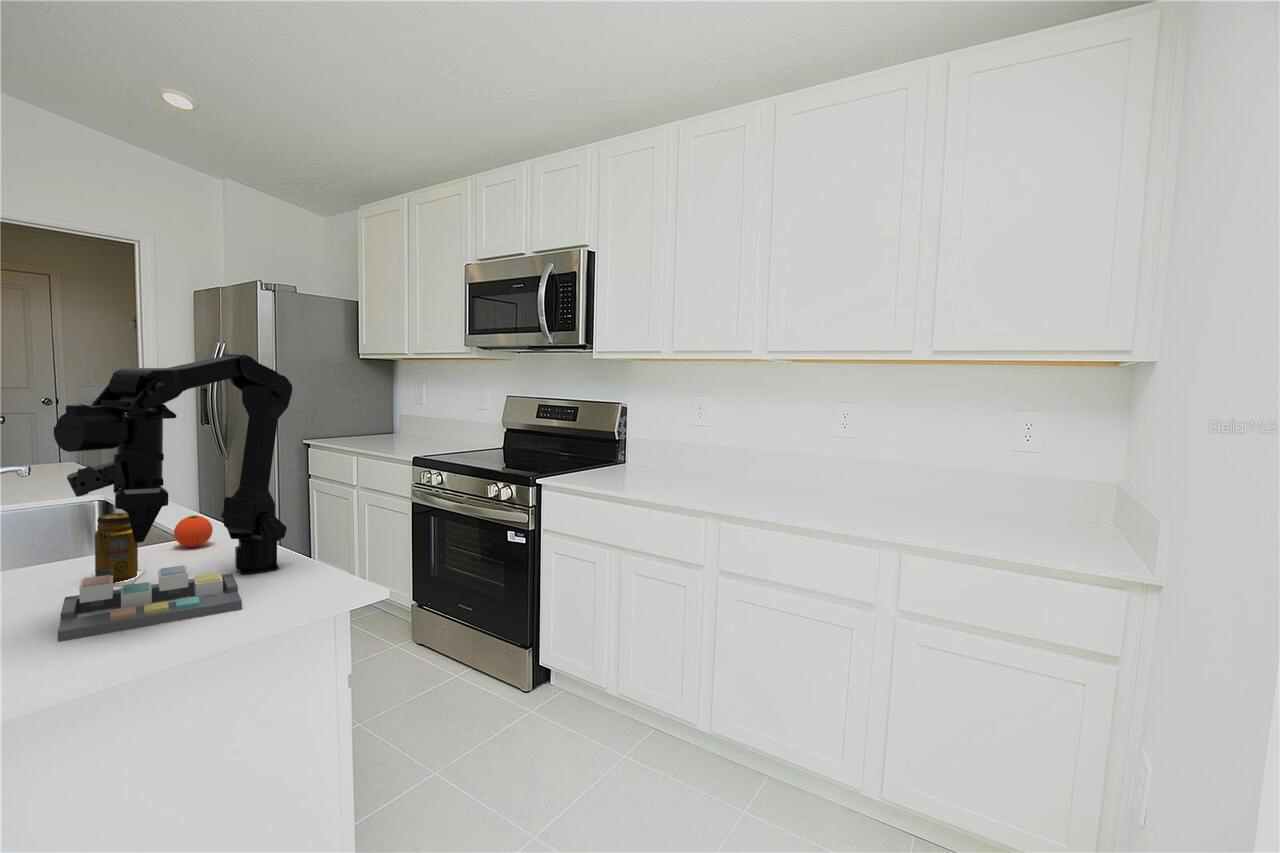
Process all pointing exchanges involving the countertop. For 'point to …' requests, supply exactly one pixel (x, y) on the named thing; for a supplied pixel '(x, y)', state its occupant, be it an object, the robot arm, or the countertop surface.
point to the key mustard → (208, 585)
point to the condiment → (116, 549)
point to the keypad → (144, 610)
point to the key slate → (173, 579)
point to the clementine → (193, 531)
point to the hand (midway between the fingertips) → (139, 542)
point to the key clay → (96, 590)
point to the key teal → (136, 595)
